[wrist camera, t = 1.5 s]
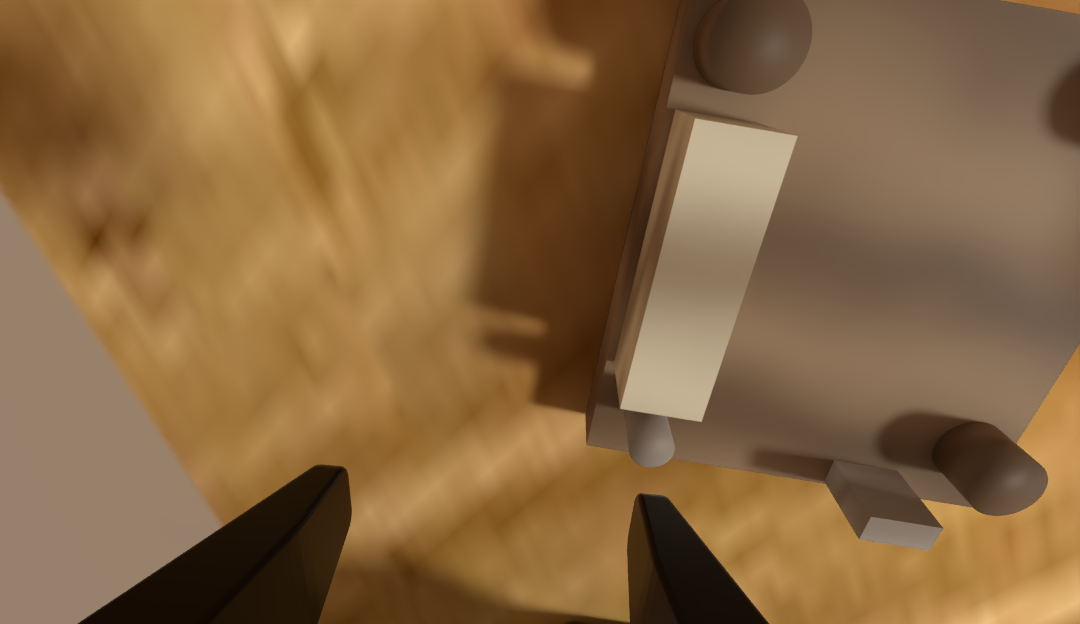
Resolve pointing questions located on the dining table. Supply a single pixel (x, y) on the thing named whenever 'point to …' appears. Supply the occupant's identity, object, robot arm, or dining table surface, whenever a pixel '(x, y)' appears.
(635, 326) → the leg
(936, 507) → the dining table surface
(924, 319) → the upturned stool seat
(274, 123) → the dining table surface
